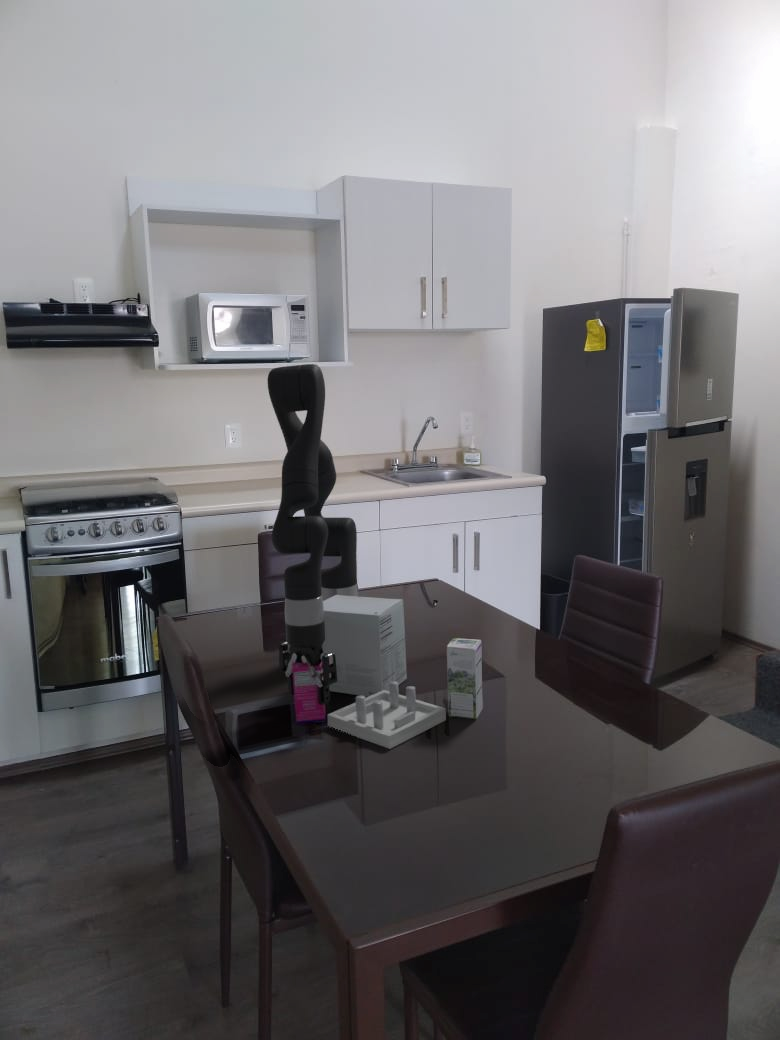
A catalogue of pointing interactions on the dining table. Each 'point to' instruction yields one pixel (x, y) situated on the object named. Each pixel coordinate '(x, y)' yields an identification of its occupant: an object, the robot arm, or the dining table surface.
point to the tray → (387, 717)
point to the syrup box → (464, 678)
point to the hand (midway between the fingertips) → (309, 698)
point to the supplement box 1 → (306, 694)
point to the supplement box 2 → (365, 643)
